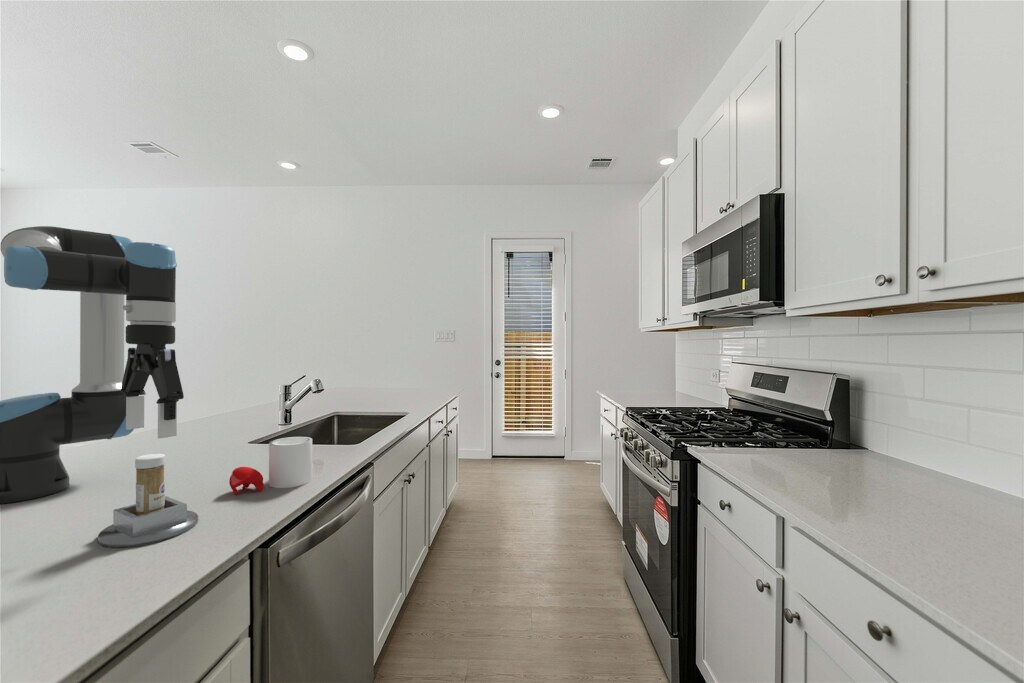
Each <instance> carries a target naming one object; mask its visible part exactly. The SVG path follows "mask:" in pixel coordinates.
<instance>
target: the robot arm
mask: <svg viewBox="0 0 1024 683" xmlns="http://www.w3.org/2000/svg"><path fill="white" fill-rule="evenodd" d="M0 252H1V254H2V257H3V277H4V282H5V284H6V285H7V286H8V287H10V288H18V289H20V288H21V289H27V290H32V291H33V290H34V291H36V290H42V291H61V292H78V293H79V292H80V295H79V299H80V300H79V303H80V304H79V307H80V308H79V310H80V311H79V314H80V315H79V320H80V322H79V323H80V324H79V332H80V333H79V383H78V384H77V385H76V386H75V387H73V388H72V389H71V397H61V395H60V393H59V392H47V393H37V394H29V395H23V396H16V397H11V398H6V399H2V400H0V504H8V503H9V504H10V503H15V502H23V501H28V500H33V499H38V498H43V497H46V496H50V495H53V494H56V493H59V492H62V491H64V490H66V489H67V488H69V487H70V475H69V473H68V471H67V469H66V467H65V465H64V463H63V461H62V458H61V456H60V447H61V446H62V445H69V444H70V445H71V444H76V443H77V444H78V443H85V442H92V441H99V440H101V441H102V440H112V439H115V438H122V437H125V436H126V437H127V436H129V435H131V433H132V432H133V431H134V430H136V429H143V428H145V395H147V393H146V391H145V387H146V385H147V382H148V380H149V378H150V377H149V376H151V379H152V381H153V384H154V387H155V389H156V392H157V395H158V397H159V398H158V399H157V400H156V401H155V402H156V404H157V439H159V440H160V439H165V438H171V437H176V436H177V423H178V422H177V421H178V420H177V418H178V417H177V414H178V413H177V411H178V408H177V407H178V406H177V404H178V403H177V402H179V400H183V399H184V397H185V396H184V391H183V387H182V383H181V377H180V374H179V370H178V365H177V360H176V359H177V358H176V357H177V356H176V350H175V349H169V348H168V349H167V348H166V346H167V345H174V344H175V343H176V327H175V326H174V325H173V323H176V322H177V320H176V319H177V315H176V314H177V303H176V285H177V284H176V282H177V281H176V277H177V276H176V275H177V267H178V264H177V261H176V260H177V258H176V251H175V249H173V247H171V246H168V245H166V244H160V243H155V242H154V243H153V242H145V241H139V242H138V241H136V242H135V241H134V242H133V240H131V239H130V238H129V237H127V236H126V237H125V236H121V235H115V234H112V233H102V232H94V231H89V230H88V231H87V230H81V229H72V228H71V229H70V228H64V227H60V226H51V225H50V226H48V225H45V226H43V225H41V226H37V225H36V226H28V227H27V226H26V227H23V228H22V227H21V228H19V229H15V230H12V231H10V232H8V233H7V234H6V235H5V236H4V237H3V238H2V239H1V242H0ZM125 311H126V312H125ZM125 313H126V314H125ZM125 320H126V321H127V322H129V324H127V325H126V326H125ZM125 343H126V344H128V345H136V347H128V348H127V360H126V365H125Z"/></svg>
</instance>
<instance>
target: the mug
mask: <svg viewBox="0 0 1024 683" xmlns="http://www.w3.org/2000/svg"><path fill="white" fill-rule="evenodd" d="M312 481H313V438H311V437H309V436H291V437H290V436H289V437H282V438H277V439H273V440H270V441H269V442H268V486H269V487H272V488H275V489H290V488H296V487H300V486H301V487H302V486H304V485H307V484H308V483H310V482H312Z"/></svg>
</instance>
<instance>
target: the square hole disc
mask: <svg viewBox="0 0 1024 683" xmlns="http://www.w3.org/2000/svg"><path fill="white" fill-rule="evenodd" d="M187 508H188V504H187V503H185V502H183V501H180V500H178V499H175V498H172V497H169V496H167V495H166V496H165V504H164V509H161V510H158V511H154V512H151V513H147V514H143V515H140V516H137V513H136V503H135V504H130V505H127V506H124V507H119V508H115V509H113V511H112V512H113V514H112V520H113V522H112V523H113V524H110V525H108V526H107V527H105V528H104V529H102V530H101V531H100V532H99V533H98V536H97V543H98V545H99V546H101V547H104V548H108V547H110V549H126V548H127V547H128V548H133V547H134V548H136V547H140V546H141V547H142V546H147V545H151V544H156V543H160V542H163V541H166V540H170V539H173V538H176V537H178V536H180V535H183V534H184V533H186V532H188V531H190V530H192V529H193V528H195V526H196V525H198V523H199V522H198V521H199V520H198V519H199V517H198V516H199V515H198V514H197V512H195V511H193V510H188V509H187ZM125 547H126V548H125Z"/></svg>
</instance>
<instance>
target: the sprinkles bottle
mask: <svg viewBox="0 0 1024 683" xmlns="http://www.w3.org/2000/svg"><path fill="white" fill-rule="evenodd" d="M165 465H166V455H165V454H163V453H151V454H143V455H140V456H137V457H136V458H135V460H134V467H135V471H136V472H135V473H136V474H135V475H136V477H135V480H136V482H135V504H136V513H137V516H140V515H143V514H147V513H151V512H154V511H158V510H161V509H164V504H165V493H166V492H165V490H166V489H165Z"/></svg>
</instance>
